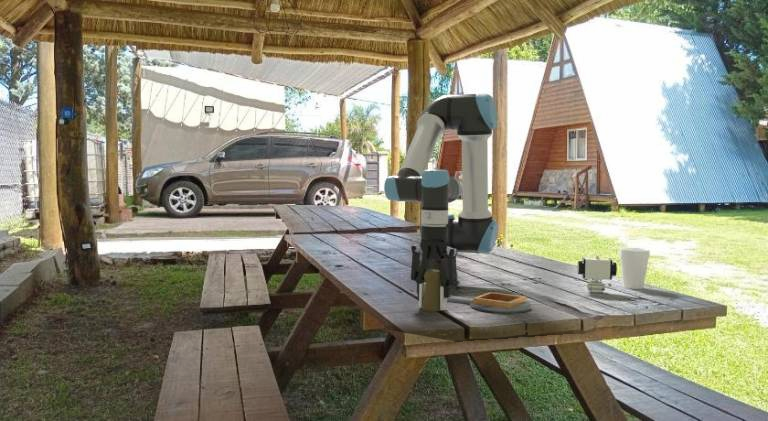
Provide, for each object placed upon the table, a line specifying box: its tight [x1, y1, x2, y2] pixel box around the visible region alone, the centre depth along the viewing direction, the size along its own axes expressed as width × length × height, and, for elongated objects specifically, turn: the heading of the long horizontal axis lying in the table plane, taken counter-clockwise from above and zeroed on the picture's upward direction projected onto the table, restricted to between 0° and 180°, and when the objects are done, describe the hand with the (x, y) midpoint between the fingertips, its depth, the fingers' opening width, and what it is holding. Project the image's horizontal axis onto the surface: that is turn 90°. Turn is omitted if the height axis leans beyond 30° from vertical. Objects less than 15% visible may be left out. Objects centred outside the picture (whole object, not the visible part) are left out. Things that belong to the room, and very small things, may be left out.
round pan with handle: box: [416, 291, 531, 315], centre depth 184 cm, size 34×17×3 cm, turn 56°
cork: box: [421, 270, 443, 312], centre depth 175 cm, size 6×6×11 cm
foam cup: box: [619, 247, 651, 290], centre depth 214 cm, size 10×9×13 cm
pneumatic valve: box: [576, 255, 618, 294], centre depth 205 cm, size 6×12×12 cm, turn 78°
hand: (432, 307), depth 176 cm, fingers closed on cork, 6 cm apart
